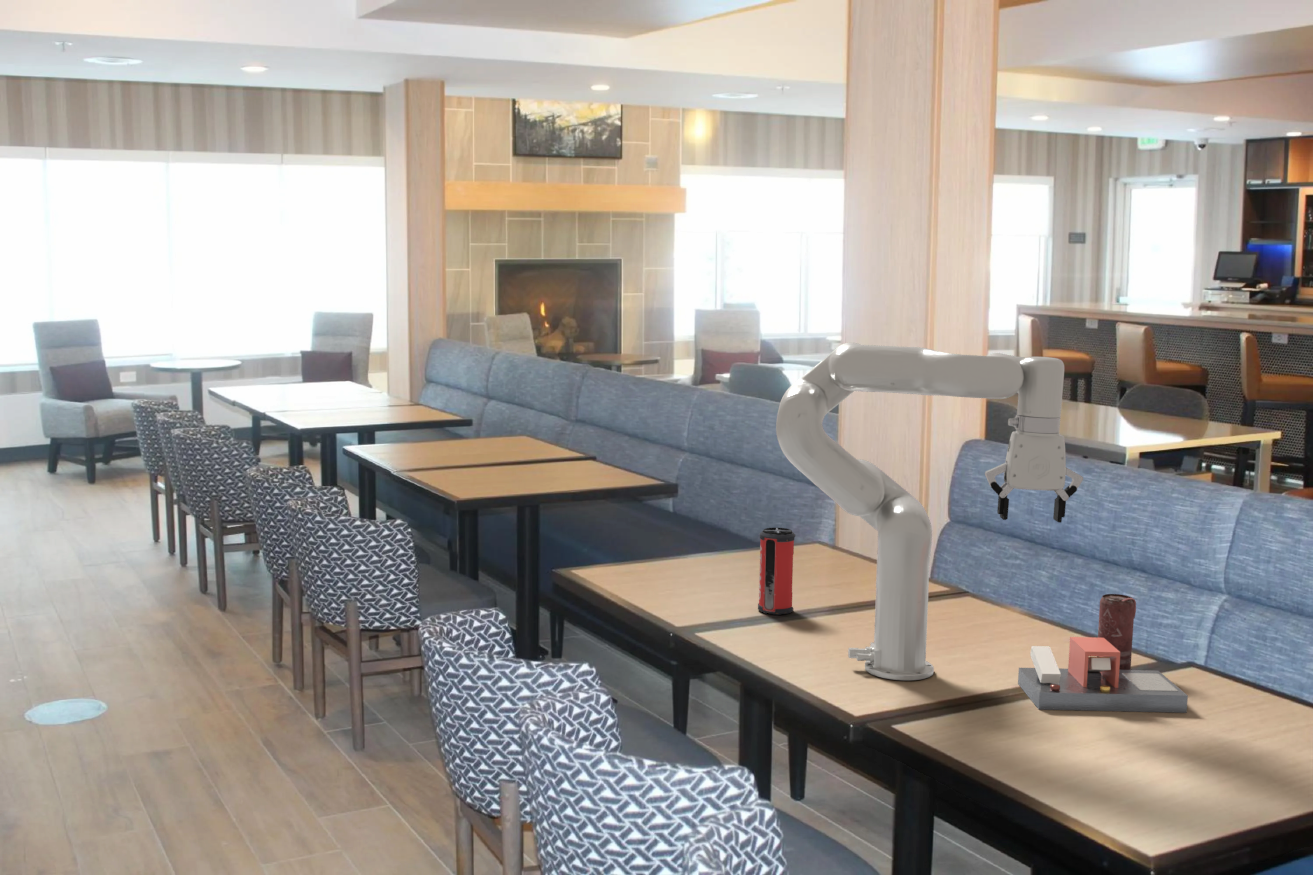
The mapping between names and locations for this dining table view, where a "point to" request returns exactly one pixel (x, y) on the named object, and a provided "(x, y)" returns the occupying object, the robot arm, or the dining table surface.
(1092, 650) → the cap
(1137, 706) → the panel
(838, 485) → the robot arm
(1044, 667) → the block
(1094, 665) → the block
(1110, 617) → the can
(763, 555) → the speaker
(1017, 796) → the dining table surface
